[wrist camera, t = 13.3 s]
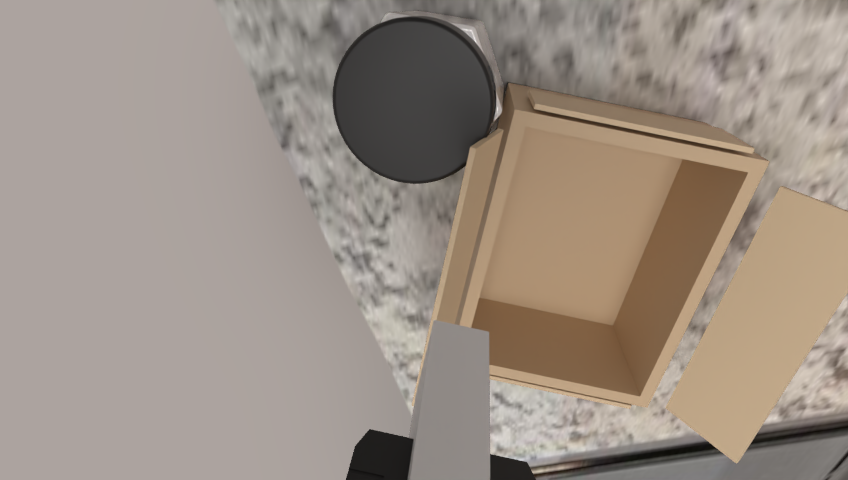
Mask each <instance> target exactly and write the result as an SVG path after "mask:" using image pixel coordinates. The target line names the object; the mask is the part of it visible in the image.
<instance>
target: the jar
mask: <svg viewBox="0 0 848 480" xmlns="http://www.w3.org/2000/svg"><path fill="white" fill-rule="evenodd" d="M503 94H504V84H503V81H502V78H501V75H500V72H499V69H498V65H497V62H496V59H495V56H494V53H493V50H492V47H491V44H490V41H489V38H488V35H487V31H486V28H485V25H484V23H483V22H482V21H479V20H473V19H467V18H461V17H455V16H449V15H443V14H437V13H431V12H425V11H419V10H416V11H402V12H389V13H387V14H386V15H385V16H384V18H383V19H382V21H381V22H380V23H379V24H377V25H375V26H373V27H372V28H370V29H368V30H367V31H366V32H364V33H363V34H362V35H361V36H359V37H358V38H357V39H356V40H355V41H354V42H353V44H352V45H351V46H350V47H349V49H348V50H347V51H346V53H345V55H344V56H343V58H342V60H341V62H340V64H339V67H338V70H337V73H336V76H335V80H334V87H333V109H334V115H335V119H336V123H337V126H338V129H339V131H340V133H341V136H342V138H343V139H344V141H345V143H346V144H347V146H348V148H349V149H350V150H351V152H352V153H353V154H354V155H355V156H356V157H357V158H358V159H359V160H360V161H361V162H362V163H363V164H364V165H365V166H367V167H368V168H369V169H371V170H372V171H374V172H376V173H377V174H379V175H381V176H383V177H385V178H388V179H391V180H394V181H398V182H403V183H412V184H421V183H429V182H434V181H438V180H441V179H444V178H446V177H448V176H450V175H452V174H454V173H456V172H457V171H459V170H460V169H462V168H463V167H464V166H466V163H467V159H468V155H469V150H470V147H471V146H472V145H474V144H475V143H477V142H478V141H480V140H481V139H483V138H487V136H488V135H489V133H490V131H491V125H492V124H493V123H494V122H495V120H496V119H497V118H498V117H499V116H500V115H501V113H502V107H503Z"/></svg>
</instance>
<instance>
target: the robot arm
mask: <svg viewBox="0 0 848 480" xmlns="http://www.w3.org/2000/svg"><path fill="white" fill-rule="evenodd" d="M346 480H536V479H535V477H534V475H533V473H532V471H531V469H530V467H529V465H528V463H527V462H523V461H519V460H514V459H510V458H505V457H500V456H496V455H491V454H490V380H489V332H488V331H483V330H479V329H474V328H470V327H465V326H460V325H456V324H451V323H447V322H442V321H437V320H434V322H433V326H432V330H431V334H430V338H429V342H428V346H427V351H426V355H425V359H424V363H423V367H422V371H421V375H420V380H419V384H418V388H417V392H416V397H415V403H414V409H413V415H412V421H411V427H410V433H409V438H407V437H403V436H398V435H393V434H389V433H384V432H380V431H375V430H371V429H370V430H369V431H368V432H367V433H366V434H365V435H364V436H363V438H362V439H361V440H360V441H359V442H358V443H357V445H356V446H355V449H354V452H353V456H352V460H351V463H350V467H349V471H348V474H347V478H346Z"/></svg>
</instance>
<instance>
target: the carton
mask: <svg viewBox="0 0 848 480" xmlns="http://www.w3.org/2000/svg"><path fill="white" fill-rule="evenodd" d="M498 128H499V129H502V130H503V134H502V138H501V142H500V146H499V150H498V154H497V158H496V162H495V166H494V170H493V174H492V178H491V182H490V186H489V190H488V194H487V198H486V202H485V206H484V210H483V214H482V218H481V222H480V226H479V230H478V234H477V238H476V241H475V245H474V249H473V253H472V257H471V261H470V265H469V269H468V273H467V277H466V281H465V285H464V289H463V293H462V297H461V301H460V305H459V309H458V313H457V317H456V321H455V324H456V325H460V326H465V327H470V328H474V329H479V330H483V331H488V332H489V379H492V380H496V381H501V382H506V383H511V384H515V385H520V386H525V387H529V388H534V389H539V390H544V391H548V392H553V393H558V394H562V395H567V396H572V397H577V398H581V399H586V400H591V401H595V402H600V403H605V404H609V405H614V406H619V407H624V408H628V409H630V408H631V406H632V405H631V404H633V405H637V406H642V407H648V405H649V403H650V401H651V399H652V397H653V395H654V393H655V391H656V389H657V387H658V385H659V383H660V381H661V379H662V377H663V375H664V373H665V371H666V369H667V367H668V365H669V363H670V361H671V359H672V357H673V355H674V353H675V351H676V349H677V347H678V345H679V343H680V341H681V339H682V337H683V335H684V333H685V331H686V329H687V327H688V325H689V323H690V321H691V319H692V317H693V315H694V313H695V311H696V309H697V307H698V305H699V303H700V301H701V299H702V297H703V295H704V293H705V291H706V289H707V287H708V285H709V283H710V281H711V279H712V277H713V275H714V273H715V271H716V269H717V267H718V265H719V263H720V261H721V259H722V257H723V255H724V253H725V251H726V249H727V246H728V244H729V242H730V240H731V238H732V236H733V234H734V232H735V230H736V228H737V226H738V224H739V222H740V220H741V218H742V216H743V214H744V212H745V210H746V208H747V206H748V204H749V202H750V200H751V198H752V196H753V194H754V192H755V190H756V188H757V186H758V184H759V182H760V180H761V178H762V176H763V174H764V172H765V170H766V168H767V166H768V164H769V162H770V161H768V160H766V159H765V158H763V157H761V156H760V155H758V154H756V153H755V152H753V151H754V149H755V148H753V147H751V146H750V145H748V144H746V143H745V142H743V141H741V140H740V139H738V138H736V137H735V136H733V135H731V134H730V133H728V132H726V131H725V130H723V129H721V128H716V127H712V126H710V125H709V124H707V123H704V122H699V121H694V120H689V119H685V118H680V117H675V116H670V115H665V114H660V113H655V112H650V111H645V110H641V109H636V108H631V107H626V106H621V105H616V104H611V103H606V102H601V101H597V100H592V99H587V98H582V97H577V96H572V95H567V94H562V93H557V92H553V91H548V90H543V89H538V88H533V87H528V86H523V85H518V84H513V83H509V82H508V84H507V89H506V93H505V97H504V101H503V107H502V113H501V115H500V117H499V121H498V125H497V129H498ZM497 129H496V130H497Z"/></svg>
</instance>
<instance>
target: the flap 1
mask: <svg viewBox="0 0 848 480" xmlns="http://www.w3.org/2000/svg"><path fill="white" fill-rule="evenodd" d="M502 134H503V130H502V129H499V128H498V129H497V130H495V131H494V132H492V133H491V134H489V135H488V136H487V138H483V139H481V140H480V141H478V142H477V143H475V144H474V145H472V146H471V147H470V150H469V155H468V159H467V163H466V168H465V172H464V177H463V181H462V185H461V190H460V194H459V199H458V203H457V208H456V212H455V216H454V221H453V225H452V230H451V234H450V238H449V243H448V247H447V252H446V256H445V261H444V265H443V269H442V274H441V278H440V283H439V287H438V291H437V296H436V300H435V305H434V309H433V314H432V318H431V322H430V327H429V331H428V336H427V340H426V344H425V349H424V353H423V358H422V362H421V367H420V371H419V375H418V380H417V384H416V389H415V393H414V397H413V402H412V406H414V403H415V397H416V392H417V388H418V384H419V380H420V375H421V371H422V367H423V363H424V359H425V355H426V351H427V346H428V342H429V338H430V334H431V330H432V326H433V322H434V320H437V321H442V322H447V323H451V324H455V321H456V317H457V313H458V309H459V305H460V301H461V297H462V293H463V289H464V285H465V281H466V277H467V273H468V269H469V265H470V261H471V257H472V253H473V249H474V245H475V241H476V238H477V234H478V230H479V226H480V222H481V218H482V214H483V210H484V206H485V202H486V198H487V194H488V190H489V186H490V182H491V178H492V174H493V170H494V166H495V162H496V158H497V154H498V150H499V146H500V142H501V138H502Z"/></svg>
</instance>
